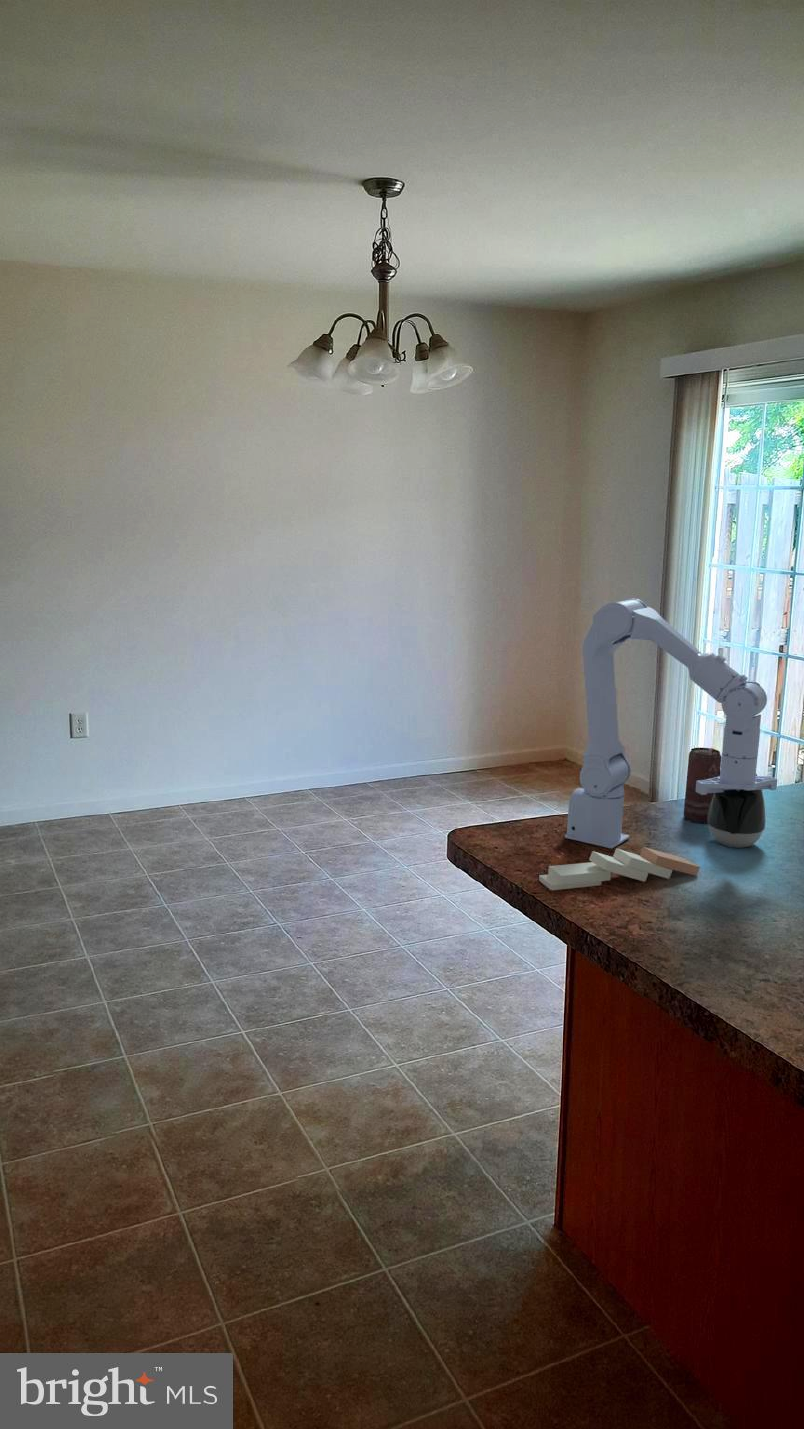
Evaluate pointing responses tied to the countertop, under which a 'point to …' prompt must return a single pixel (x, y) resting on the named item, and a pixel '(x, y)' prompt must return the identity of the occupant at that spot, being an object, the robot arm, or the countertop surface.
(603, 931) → the countertop surface
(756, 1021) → the countertop surface
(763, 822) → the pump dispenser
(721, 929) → the countertop surface
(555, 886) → the domino
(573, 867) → the domino
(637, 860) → the domino
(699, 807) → the can
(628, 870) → the domino
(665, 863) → the end domino
